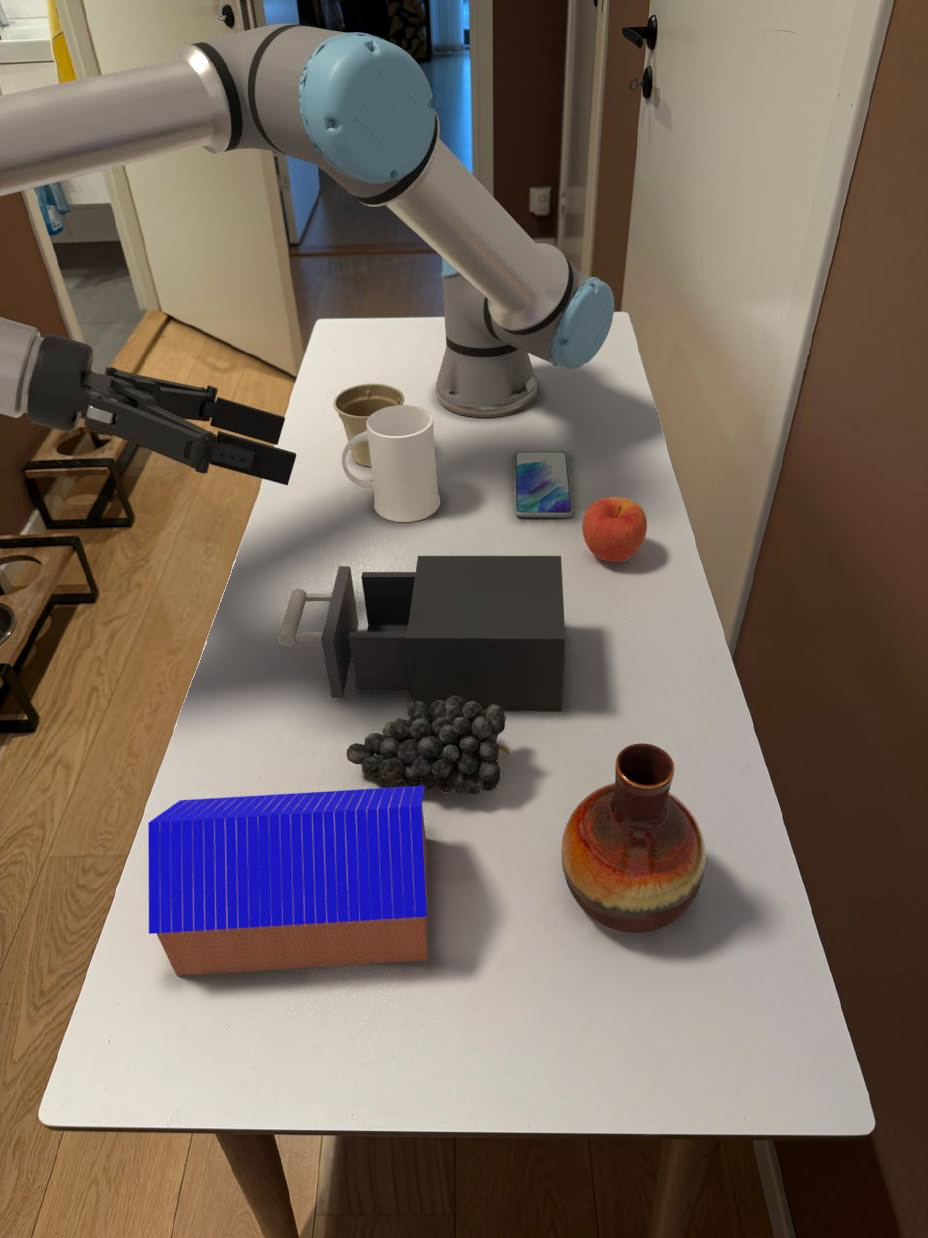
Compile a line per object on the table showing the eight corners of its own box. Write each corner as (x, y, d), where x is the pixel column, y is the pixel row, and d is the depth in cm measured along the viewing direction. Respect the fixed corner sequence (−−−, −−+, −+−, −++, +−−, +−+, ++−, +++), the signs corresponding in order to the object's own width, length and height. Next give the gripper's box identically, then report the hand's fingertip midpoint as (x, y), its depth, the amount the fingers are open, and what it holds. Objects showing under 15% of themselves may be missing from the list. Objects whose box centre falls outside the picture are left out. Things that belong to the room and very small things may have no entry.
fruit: (331, 722, 78) (509, 723, 77) (350, 679, 86) (512, 679, 84) (340, 809, 81) (511, 811, 80) (357, 760, 89) (514, 761, 88)
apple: (629, 533, 112) (635, 477, 107) (653, 568, 107) (660, 511, 102) (572, 543, 111) (575, 487, 106) (593, 579, 106) (597, 522, 101)
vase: (602, 973, 70) (617, 852, 60) (536, 860, 78) (539, 736, 68) (725, 918, 73) (758, 794, 63) (649, 814, 81) (668, 689, 71)
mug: (346, 525, 116) (333, 440, 108) (351, 487, 122) (340, 405, 115) (439, 521, 116) (434, 436, 108) (440, 484, 122) (435, 402, 114)
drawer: (283, 698, 92) (270, 640, 87) (304, 622, 101) (292, 565, 95) (467, 699, 91) (464, 641, 86) (471, 623, 99) (469, 566, 94)
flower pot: (406, 473, 125) (400, 416, 119) (336, 474, 125) (328, 417, 119) (411, 438, 132) (406, 382, 126) (345, 439, 132) (338, 383, 126)
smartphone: (567, 450, 126) (573, 513, 114) (566, 456, 126) (572, 519, 115) (514, 450, 126) (514, 512, 115) (513, 456, 127) (514, 518, 115)
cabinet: (413, 710, 91) (406, 637, 85) (423, 625, 101) (417, 555, 95) (561, 711, 90) (565, 638, 84) (558, 626, 100) (561, 555, 94)
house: (198, 848, 80) (164, 759, 72) (429, 834, 80) (420, 744, 72) (171, 980, 71) (129, 894, 63) (432, 964, 71) (422, 876, 63)
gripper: (49, 390, 88) (267, 452, 96) (-5, 458, 66) (284, 532, 74) (64, 312, 86) (287, 382, 93) (14, 356, 64) (310, 443, 72)
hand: (286, 448), depth 84 cm, fingers open, 13 cm apart
